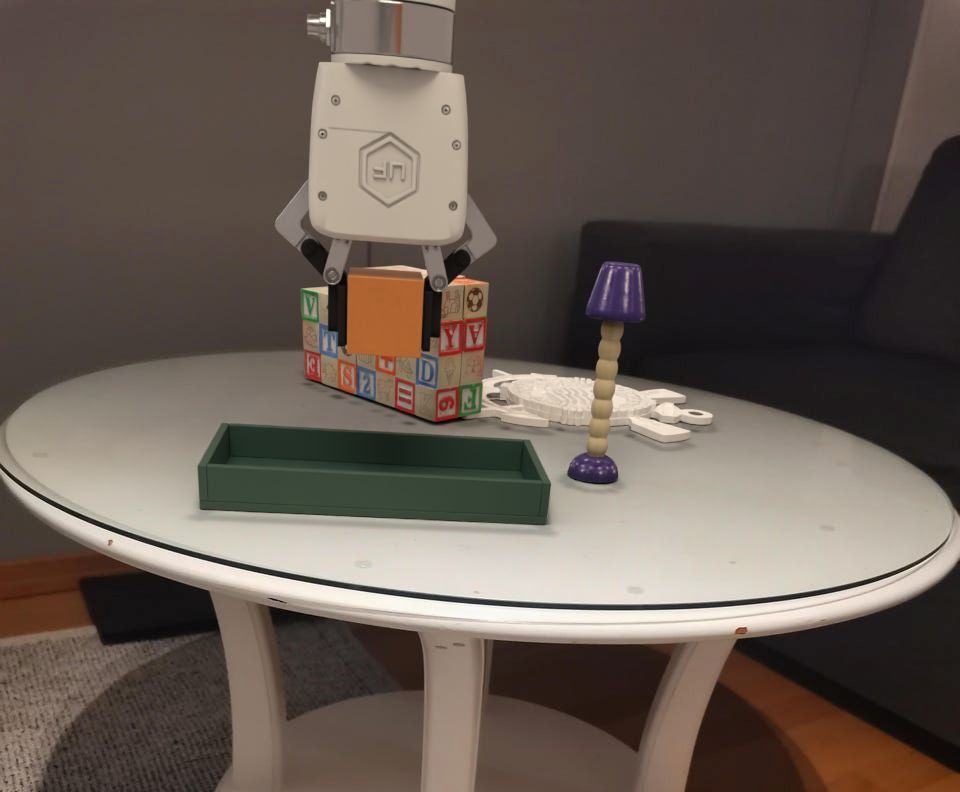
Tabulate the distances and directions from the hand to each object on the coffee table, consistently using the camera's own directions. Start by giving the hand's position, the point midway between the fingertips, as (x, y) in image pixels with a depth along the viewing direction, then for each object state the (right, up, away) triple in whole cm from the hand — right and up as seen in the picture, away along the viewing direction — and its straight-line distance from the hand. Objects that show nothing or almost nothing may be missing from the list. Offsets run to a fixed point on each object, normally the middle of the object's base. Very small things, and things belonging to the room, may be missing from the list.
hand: (384, 342), depth 68 cm
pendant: (+17, +4, +35) cm, 39 cm away
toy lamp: (+16, -7, +13) cm, 22 cm away
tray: (-1, -10, +5) cm, 11 cm away
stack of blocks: (-3, +4, +32) cm, 32 cm away
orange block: (0, 0, 0) cm, 0 cm away
